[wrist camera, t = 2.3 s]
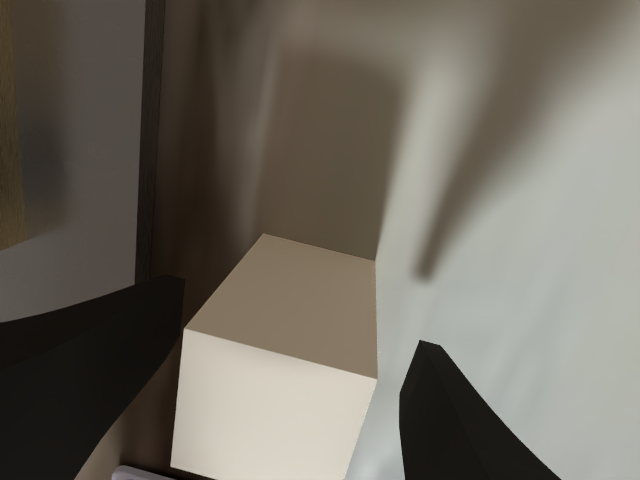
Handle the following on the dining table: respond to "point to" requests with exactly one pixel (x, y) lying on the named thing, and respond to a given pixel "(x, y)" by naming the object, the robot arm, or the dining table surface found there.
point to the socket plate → (76, 149)
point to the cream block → (279, 367)
